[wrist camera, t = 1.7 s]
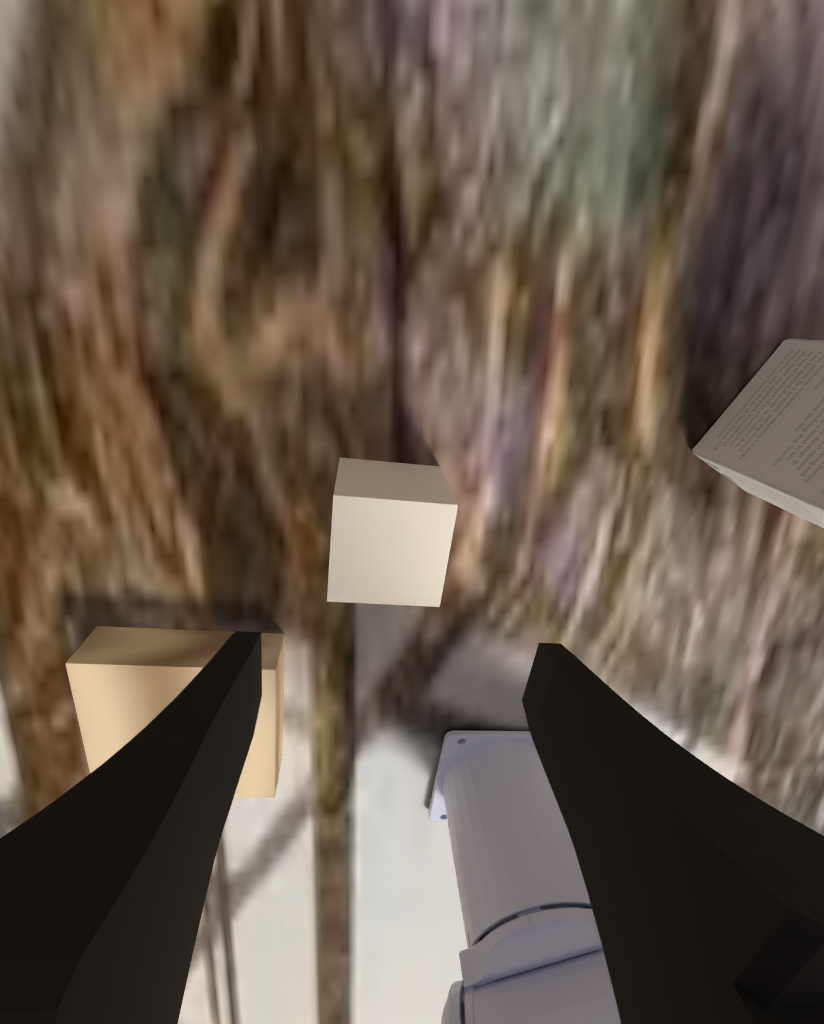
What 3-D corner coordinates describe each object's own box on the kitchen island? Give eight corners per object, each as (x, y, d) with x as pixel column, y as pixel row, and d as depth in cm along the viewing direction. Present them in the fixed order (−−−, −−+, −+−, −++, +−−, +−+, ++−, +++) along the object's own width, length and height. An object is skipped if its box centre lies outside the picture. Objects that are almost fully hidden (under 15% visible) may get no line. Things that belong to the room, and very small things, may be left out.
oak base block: (286, 628, 24) (275, 669, 21) (283, 749, 28) (274, 797, 25) (101, 620, 23) (65, 663, 20) (123, 747, 26) (95, 798, 24)
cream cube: (439, 465, 21) (458, 505, 17) (426, 552, 22) (439, 606, 18) (339, 456, 20) (333, 495, 16) (334, 546, 22) (327, 601, 18)
